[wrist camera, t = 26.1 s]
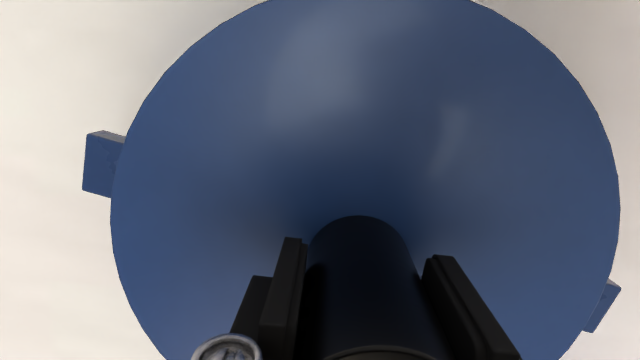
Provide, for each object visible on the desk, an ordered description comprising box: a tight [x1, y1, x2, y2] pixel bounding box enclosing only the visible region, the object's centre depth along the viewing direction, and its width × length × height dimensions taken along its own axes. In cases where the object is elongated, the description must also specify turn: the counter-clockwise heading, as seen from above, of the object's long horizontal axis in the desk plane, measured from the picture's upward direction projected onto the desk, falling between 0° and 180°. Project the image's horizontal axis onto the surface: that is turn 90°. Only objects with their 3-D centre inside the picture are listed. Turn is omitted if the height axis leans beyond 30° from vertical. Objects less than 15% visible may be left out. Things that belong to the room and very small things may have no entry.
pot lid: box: [110, 0, 620, 360], centre depth 10 cm, size 18×18×7 cm
